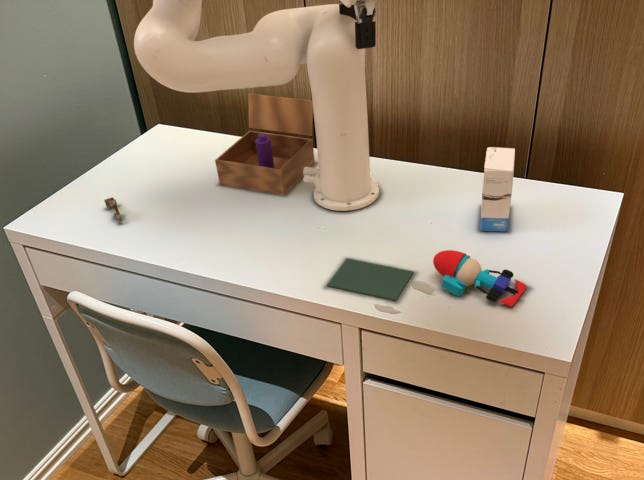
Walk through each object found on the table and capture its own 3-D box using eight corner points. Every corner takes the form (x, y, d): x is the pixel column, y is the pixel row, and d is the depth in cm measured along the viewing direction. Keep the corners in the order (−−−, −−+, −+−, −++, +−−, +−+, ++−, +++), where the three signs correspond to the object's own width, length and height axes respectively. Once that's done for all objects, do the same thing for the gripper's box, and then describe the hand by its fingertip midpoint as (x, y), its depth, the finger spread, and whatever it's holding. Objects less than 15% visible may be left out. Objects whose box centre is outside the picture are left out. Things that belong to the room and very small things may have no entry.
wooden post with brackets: (116, 223, 134) (108, 199, 132) (111, 221, 141) (103, 198, 139) (126, 220, 134) (117, 196, 133) (120, 218, 142) (112, 196, 140)
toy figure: (526, 291, 113) (441, 255, 118) (533, 269, 109) (446, 233, 114) (507, 321, 109) (420, 283, 114) (515, 299, 105) (424, 260, 110)
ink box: (508, 232, 123) (514, 170, 115) (479, 231, 124) (483, 169, 116) (509, 207, 129) (515, 146, 122) (481, 206, 130) (485, 145, 123)
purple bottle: (257, 174, 145) (251, 137, 140) (264, 167, 147) (259, 131, 142) (270, 176, 144) (265, 139, 139) (277, 169, 146) (272, 132, 141)
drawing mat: (327, 286, 116) (326, 284, 116) (346, 259, 121) (346, 258, 121) (396, 301, 112) (395, 299, 111) (413, 273, 117) (413, 271, 117)
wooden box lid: (248, 93, 146) (248, 93, 146) (248, 127, 149) (249, 127, 149) (312, 100, 140) (313, 100, 141) (311, 136, 144) (312, 135, 144)
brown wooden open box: (219, 184, 144) (214, 160, 140) (253, 154, 153) (249, 130, 149) (284, 195, 139) (280, 170, 135) (315, 163, 148) (312, 139, 144)
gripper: (316, -90, 112) (322, 25, 123) (344, -67, 99) (349, 58, 111) (362, -96, 113) (364, 19, 124) (396, -73, 100) (395, 52, 112)
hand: (357, 37), depth 117 cm, fingers open, 9 cm apart
